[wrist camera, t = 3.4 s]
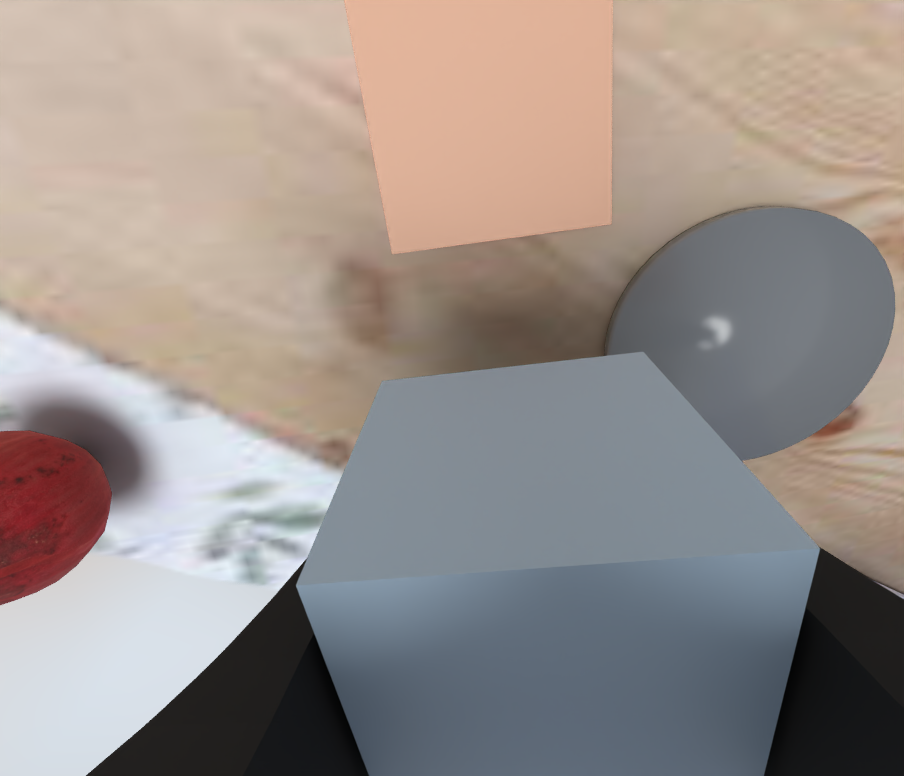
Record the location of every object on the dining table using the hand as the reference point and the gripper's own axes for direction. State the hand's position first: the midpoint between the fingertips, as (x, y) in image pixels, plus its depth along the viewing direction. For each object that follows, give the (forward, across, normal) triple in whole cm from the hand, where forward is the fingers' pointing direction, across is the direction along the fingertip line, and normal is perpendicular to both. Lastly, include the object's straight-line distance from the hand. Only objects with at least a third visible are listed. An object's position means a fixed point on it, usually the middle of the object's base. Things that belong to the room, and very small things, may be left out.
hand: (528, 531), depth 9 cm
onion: (+10, +18, +3) cm, 20 cm away
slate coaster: (+9, -8, +1) cm, 12 cm away
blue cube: (+2, 0, 0) cm, 2 cm away
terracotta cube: (+10, 0, -7) cm, 12 cm away
